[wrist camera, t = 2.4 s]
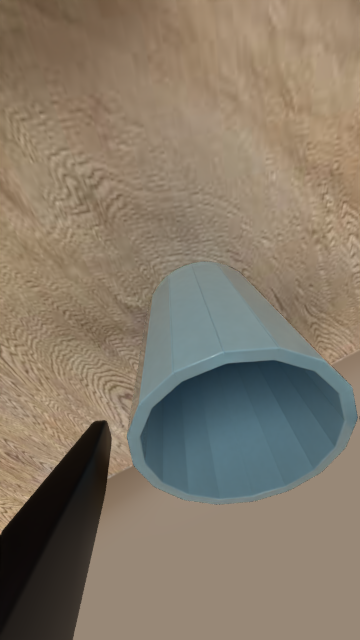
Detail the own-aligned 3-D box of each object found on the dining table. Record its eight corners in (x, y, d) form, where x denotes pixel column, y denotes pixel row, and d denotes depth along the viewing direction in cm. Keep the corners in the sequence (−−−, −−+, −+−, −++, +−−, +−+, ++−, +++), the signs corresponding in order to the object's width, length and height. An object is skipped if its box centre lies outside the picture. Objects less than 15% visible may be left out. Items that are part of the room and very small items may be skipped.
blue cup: (262, 257, 14) (391, 339, 6) (252, 356, 17) (327, 495, 9) (141, 265, 14) (108, 360, 6) (153, 363, 17) (143, 511, 9)
